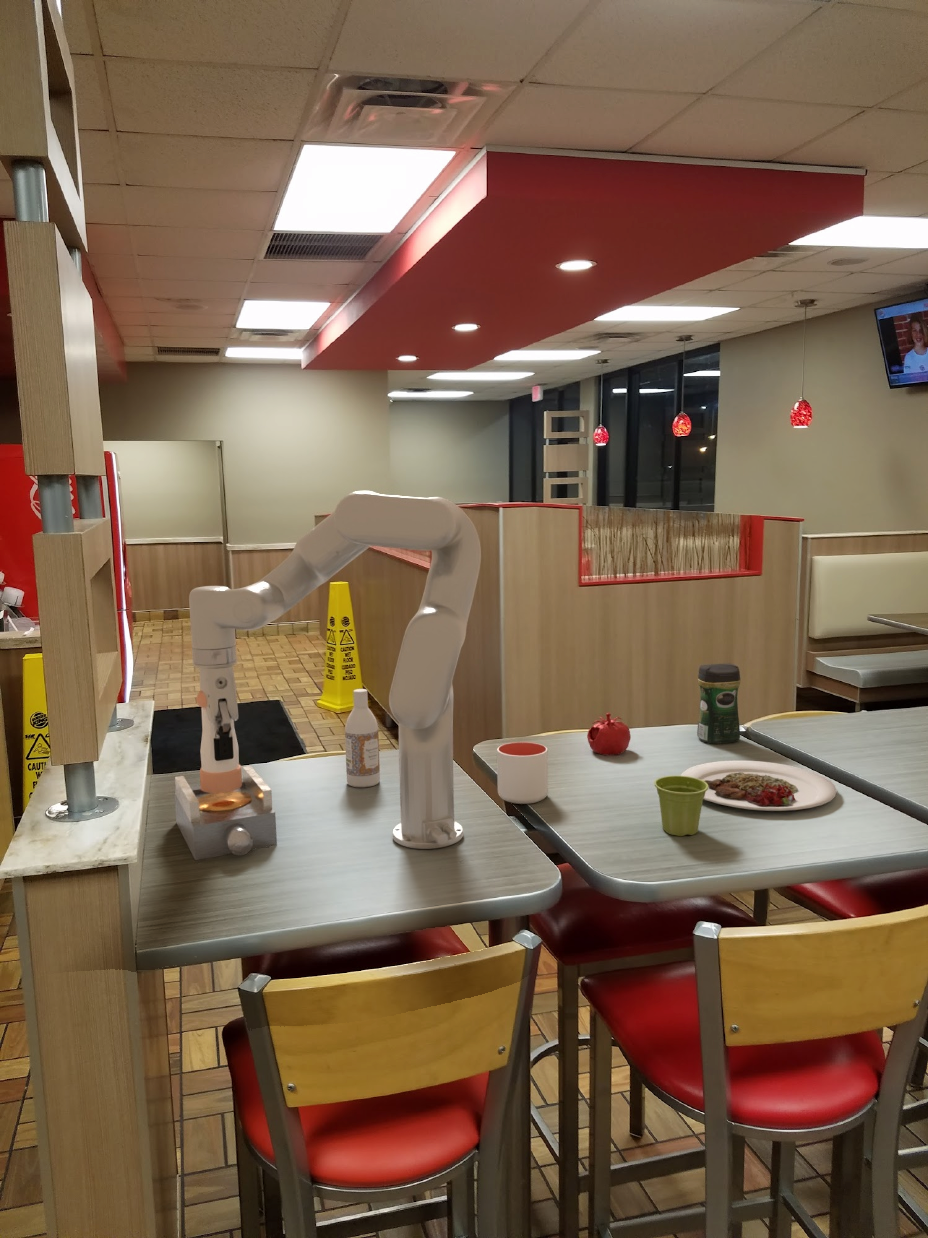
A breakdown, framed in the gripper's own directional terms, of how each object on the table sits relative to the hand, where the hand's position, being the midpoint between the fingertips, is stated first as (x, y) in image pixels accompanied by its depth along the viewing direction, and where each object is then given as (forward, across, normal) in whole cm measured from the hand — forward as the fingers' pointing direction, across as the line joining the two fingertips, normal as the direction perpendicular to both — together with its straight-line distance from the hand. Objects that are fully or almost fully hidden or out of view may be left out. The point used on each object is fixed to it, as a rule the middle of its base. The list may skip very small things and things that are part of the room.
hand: (220, 753), depth 166 cm
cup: (+15, -9, -57) cm, 60 cm away
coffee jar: (+15, +4, -118) cm, 119 cm away
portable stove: (+15, -2, 0) cm, 15 cm away
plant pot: (+15, -38, -73) cm, 84 cm away
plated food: (+15, -28, -100) cm, 105 cm away
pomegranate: (+15, +9, -90) cm, 92 cm away
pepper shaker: (+6, 0, 0) cm, 6 cm away
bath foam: (+15, +15, -32) cm, 39 cm away
